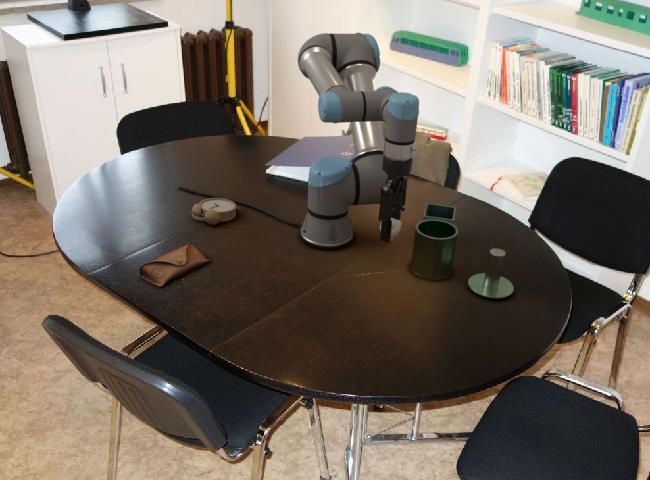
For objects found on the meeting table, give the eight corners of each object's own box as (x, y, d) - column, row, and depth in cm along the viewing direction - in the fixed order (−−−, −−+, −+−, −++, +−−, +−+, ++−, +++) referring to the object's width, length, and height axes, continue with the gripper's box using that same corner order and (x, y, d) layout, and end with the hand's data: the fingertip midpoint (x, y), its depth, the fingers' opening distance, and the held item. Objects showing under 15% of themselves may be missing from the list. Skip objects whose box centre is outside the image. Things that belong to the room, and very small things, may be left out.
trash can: (407, 276, 186) (412, 234, 179) (414, 256, 195) (419, 216, 188) (448, 283, 184) (455, 242, 177) (453, 263, 193) (460, 223, 186)
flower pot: (449, 247, 201) (454, 219, 196) (419, 243, 202) (423, 215, 197) (451, 233, 208) (456, 206, 203) (422, 229, 209) (426, 202, 204)
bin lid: (465, 296, 179) (472, 259, 173) (469, 273, 189) (476, 237, 183) (511, 304, 177) (520, 267, 171) (513, 281, 187) (522, 245, 181)
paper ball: (378, 241, 186) (380, 222, 182) (379, 231, 190) (381, 213, 187) (399, 243, 185) (401, 224, 182) (400, 234, 190) (402, 215, 187)
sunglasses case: (161, 287, 175) (150, 263, 173) (147, 290, 179) (136, 267, 178) (212, 260, 187) (202, 237, 185) (197, 264, 192) (187, 242, 190)
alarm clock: (244, 205, 210) (210, 214, 199) (242, 220, 212) (209, 230, 201) (217, 194, 215) (182, 202, 204) (215, 209, 217) (181, 218, 206)
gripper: (397, 172, 166) (388, 255, 179) (424, 148, 180) (414, 226, 193) (369, 165, 169) (362, 247, 182) (398, 142, 183) (389, 220, 196)
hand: (389, 236), depth 188 cm, fingers closed on paper ball, 5 cm apart
